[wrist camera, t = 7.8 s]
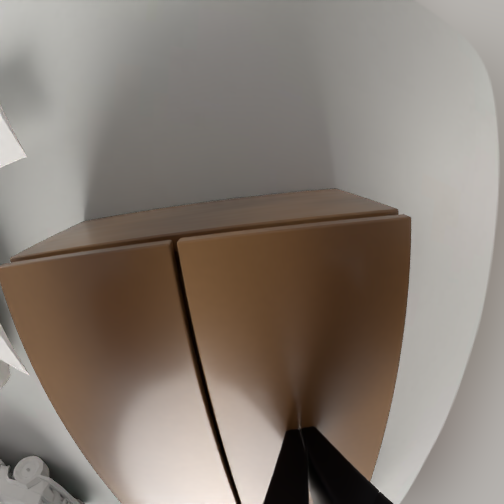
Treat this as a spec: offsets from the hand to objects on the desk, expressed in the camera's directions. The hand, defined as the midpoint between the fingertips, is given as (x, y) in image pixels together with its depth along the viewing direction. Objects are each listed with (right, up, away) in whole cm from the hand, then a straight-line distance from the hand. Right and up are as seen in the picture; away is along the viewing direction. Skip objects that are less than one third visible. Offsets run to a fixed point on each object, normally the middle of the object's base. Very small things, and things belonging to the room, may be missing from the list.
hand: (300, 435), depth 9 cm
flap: (0, 0, 0) cm, 0 cm away
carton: (-3, +1, +6) cm, 7 cm away
